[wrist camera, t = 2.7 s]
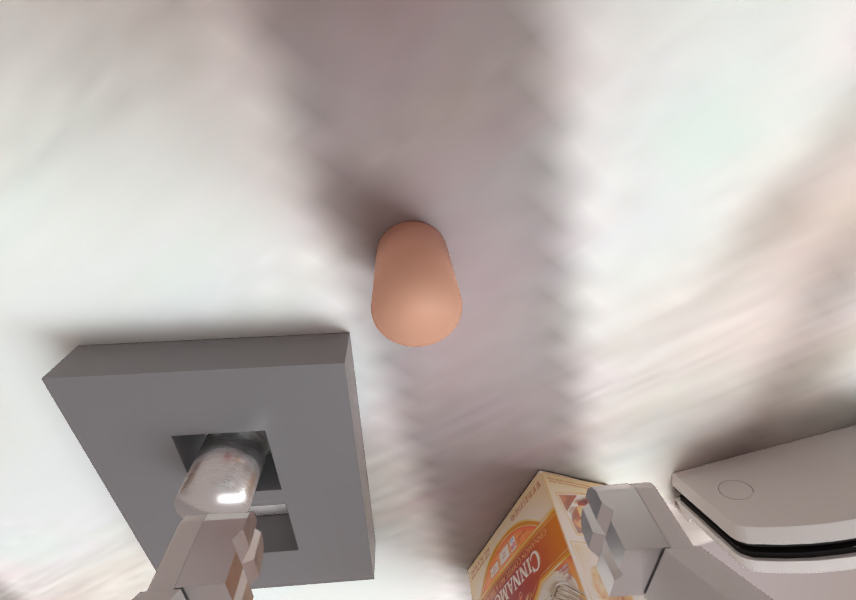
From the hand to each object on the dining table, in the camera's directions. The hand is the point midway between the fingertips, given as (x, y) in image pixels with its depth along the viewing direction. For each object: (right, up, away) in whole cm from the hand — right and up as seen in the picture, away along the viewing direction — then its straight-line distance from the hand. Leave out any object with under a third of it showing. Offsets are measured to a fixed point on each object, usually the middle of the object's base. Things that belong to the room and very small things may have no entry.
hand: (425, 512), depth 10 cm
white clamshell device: (+28, -7, +25) cm, 38 cm away
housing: (-13, -7, +21) cm, 25 cm away
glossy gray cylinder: (-13, -4, +19) cm, 23 cm away
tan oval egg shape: (-1, +8, +13) cm, 15 cm away
